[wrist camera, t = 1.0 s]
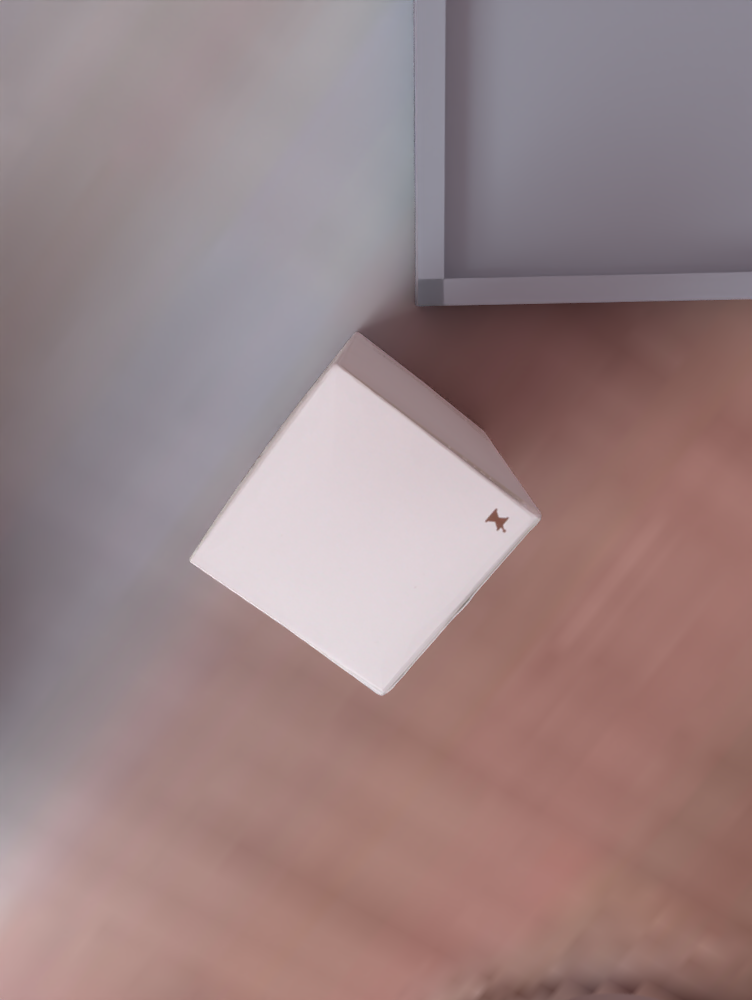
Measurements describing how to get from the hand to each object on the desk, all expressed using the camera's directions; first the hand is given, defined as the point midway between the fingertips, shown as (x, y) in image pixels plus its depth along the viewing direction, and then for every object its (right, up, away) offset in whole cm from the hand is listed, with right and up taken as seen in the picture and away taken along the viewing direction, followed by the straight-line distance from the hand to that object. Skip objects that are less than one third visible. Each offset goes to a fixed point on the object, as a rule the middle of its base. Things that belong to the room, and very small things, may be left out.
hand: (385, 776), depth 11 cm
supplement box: (0, +7, +22) cm, 23 cm away
